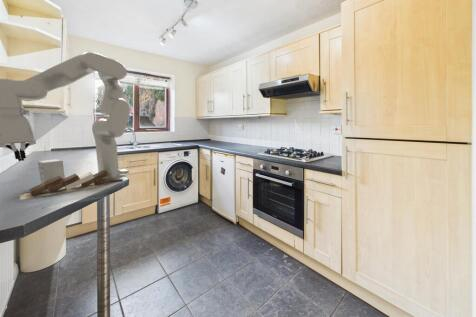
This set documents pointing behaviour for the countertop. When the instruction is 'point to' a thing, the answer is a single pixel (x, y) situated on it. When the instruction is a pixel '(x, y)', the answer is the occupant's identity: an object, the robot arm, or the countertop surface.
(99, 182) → the domino
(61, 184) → the domino
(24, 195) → the board
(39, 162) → the supplement box
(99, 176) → the domino
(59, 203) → the countertop surface
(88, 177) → the domino
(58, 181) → the domino end
